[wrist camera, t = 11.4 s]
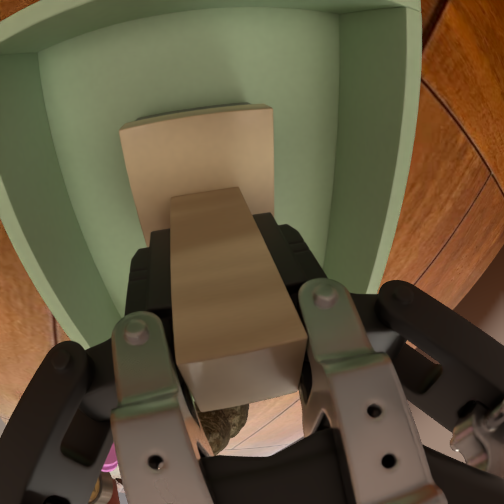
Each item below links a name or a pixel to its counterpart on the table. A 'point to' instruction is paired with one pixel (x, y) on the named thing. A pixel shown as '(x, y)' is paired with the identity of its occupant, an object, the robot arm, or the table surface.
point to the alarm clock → (102, 489)
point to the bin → (192, 96)
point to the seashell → (222, 425)
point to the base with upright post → (218, 249)
